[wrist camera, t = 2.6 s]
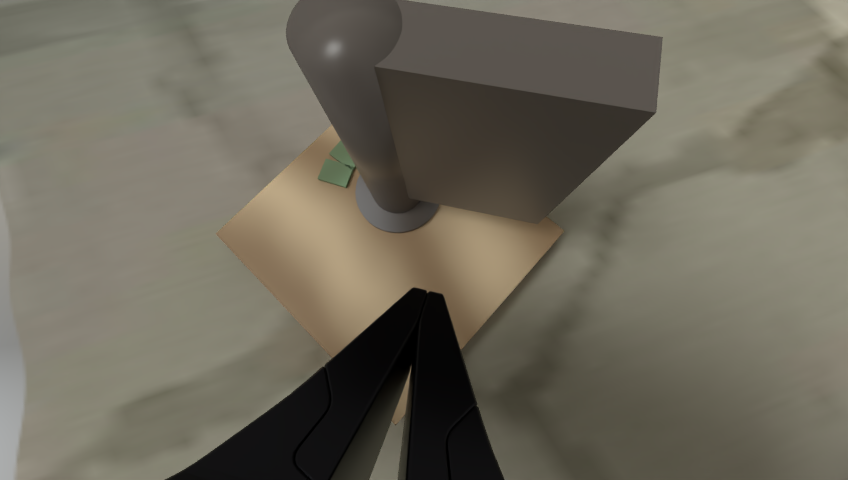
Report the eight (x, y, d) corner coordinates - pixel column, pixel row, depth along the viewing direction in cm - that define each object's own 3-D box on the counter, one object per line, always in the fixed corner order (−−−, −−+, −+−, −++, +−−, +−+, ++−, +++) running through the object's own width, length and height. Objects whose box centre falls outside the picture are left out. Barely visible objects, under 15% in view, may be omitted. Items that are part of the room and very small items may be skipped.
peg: (527, 240, 16) (654, 130, 6) (366, 207, 16) (270, 65, 7) (544, 136, 17) (673, -85, 8) (393, 109, 18) (341, -121, 8)
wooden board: (398, 417, 16) (394, 427, 14) (230, 239, 18) (211, 232, 17) (559, 232, 17) (570, 224, 16) (385, 92, 20) (381, 74, 18)
